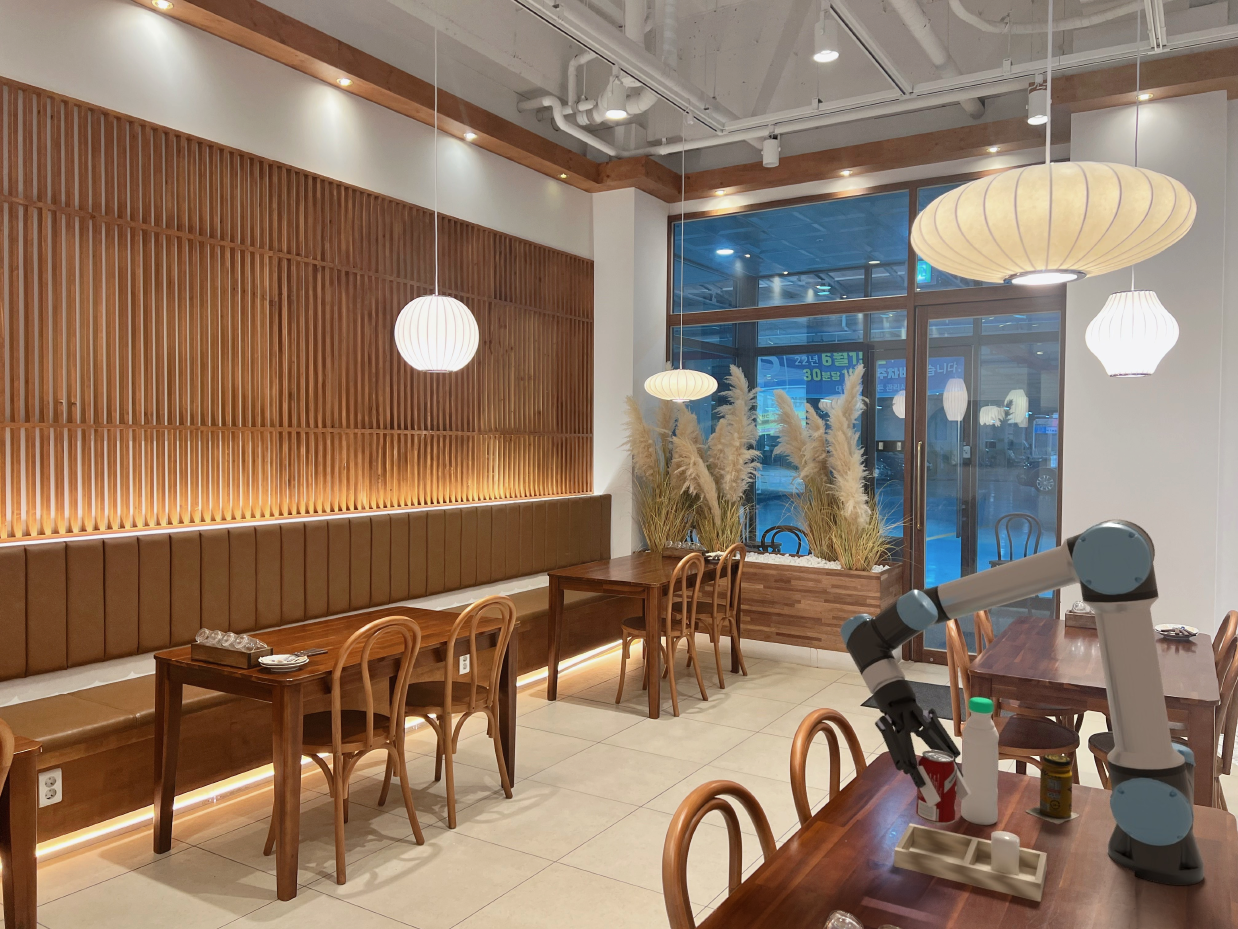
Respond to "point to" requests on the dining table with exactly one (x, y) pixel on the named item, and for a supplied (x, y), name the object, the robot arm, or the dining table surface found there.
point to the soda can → (938, 787)
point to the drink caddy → (968, 861)
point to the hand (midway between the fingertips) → (950, 800)
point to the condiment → (1055, 790)
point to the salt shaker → (1005, 852)
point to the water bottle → (980, 764)
